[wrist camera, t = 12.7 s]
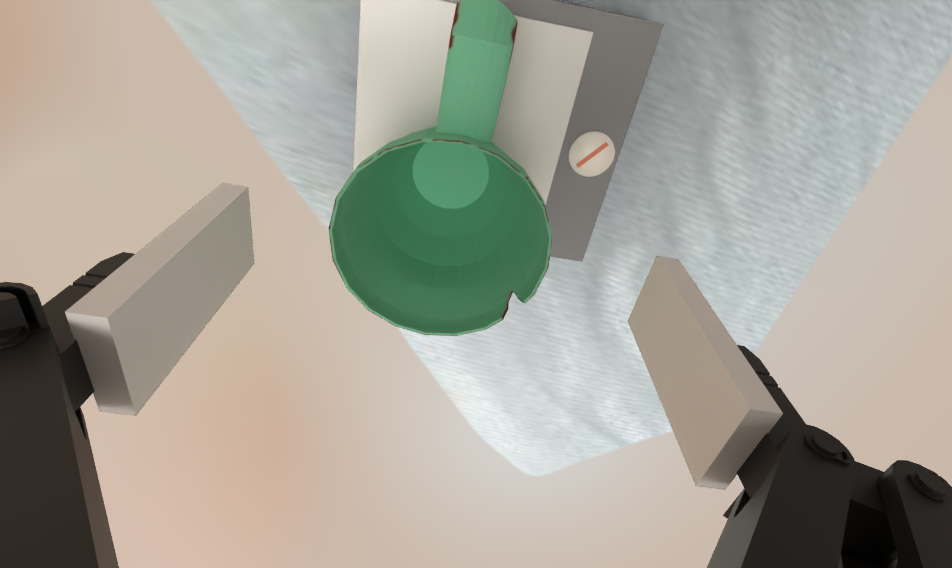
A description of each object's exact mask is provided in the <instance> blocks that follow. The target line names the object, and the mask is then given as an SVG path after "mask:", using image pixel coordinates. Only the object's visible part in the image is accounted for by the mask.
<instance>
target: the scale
mask: <svg viewBox="0 0 952 568" xmlns="http://www.w3.org/2000/svg"><path fill="white" fill-rule="evenodd" d="M460 1H462V0H361V8H360V30H359V52H358V75H357V97H356V119H355V141H354V163H353V172H354V170H355V169H356V167H357V166H358V165H359V164H360V163H361V162H362V161H363V160H365V159H366V158H368V157H369V156H370V155H372V154H373V153H375V152H376V151H377V150H379V149H380V148H382V147H383V146H385V145H386V144H387V143H389V142H391V141H394V140H397V139H400V138H402V137H404V136H406V135H408V134H410V133H413V132H417V131H420V130H424V129H427V128H431V127H434V126H437V119H438V112H439V106H440V99H441V93H442V86H443V79H444V73H445V66H446V60H447V53H448V47H449V41H450V34H451V29H452V24H453V19H454V14H455V9H456V4H457V3H458V2H460ZM499 1H500V2H501V3H502V4H504V5H505V6H506V7H507V8H508V9H509V10H510V11H511V12H512V14H513V15H514V16H515V17H516V19H517V22H518V24H517V30H516V36H515V42H514V47H513V52H512V56H511V61H510V65H509V70H508V74H507V79H506V83H505V88H504V92H503V96H502V101H501V105H500V109H499V113H498V117H497V121H496V126H495V130H494V134H493V138H492V143H494V144H495V145H496V146H497V147H498V148H500V149H501V150H502V151H503V152H505V153H506V154H507V155H508V156H509V157H510V158H511V159H513V160H514V161H515V162H516V163H517V164H519V165H520V166H521V167H522V168H524V169H525V171H526V173H527V174H528V176H529V177H530V179H531V181H532V182H533V184H534V185H535V187H536V189H537V190H538V192H539V193H540V195H541V197H542V198H543V200H544V202H545V206H546V210H547V215H548V220H549V224H550V229H551V233H552V245H551V252H550V256H551V257H557V258H564V259H570V260H576V261H582V260H583V257H584V254H585V251H586V249H587V246H588V243H589V240H590V237H591V234H592V231H593V228H594V225H595V222H596V220H597V217H598V214H599V211H600V208H601V205H602V202H603V199H604V196H605V193H606V191H607V188H608V185H609V182H610V179H611V176H612V173H613V170H614V167H615V164H616V162H617V159H618V156H619V153H620V150H621V147H622V144H623V141H624V138H625V135H626V133H627V130H628V127H629V124H630V121H631V118H632V115H633V112H634V109H635V106H636V104H637V101H638V98H639V95H640V92H641V89H642V86H643V83H644V80H645V77H646V74H647V72H648V69H649V66H650V63H651V60H652V57H653V54H654V51H655V48H656V45H657V43H658V40H659V37H660V34H661V31H662V28H663V25H664V24H660V23H656V22H653V21H649V20H645V19H640V18H635V17H631V16H626V15H621V14H617V13H612V12H607V11H602V10H598V9H593V8H588V7H584V6H579V5H574V4H570V3H565V2H560V1H555V0H499Z"/></svg>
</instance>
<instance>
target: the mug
mask: <svg viewBox="0 0 952 568" xmlns="http://www.w3.org/2000/svg"><path fill="white" fill-rule="evenodd" d="M517 24H518V22H517V19H516V17H515V16H514V15H513V14H512V12H511V11H510V10H509V9H508V8H507V7H506V6H505V5H504V4H502V3H501V2H500V1H499V0H462V1H460V2H458V3H457V4H456V9H455V14H454V19H453V24H452V29H451V34H450V41H449V47H448V53H447V60H446V66H445V73H444V79H443V86H442V93H441V99H440V106H439V112H438V119H437V126H434V127H431V128H427V129H424V130H420V131H417V132H413V133H410V134H408V135H406V136H404V137H402V138H400V139H397V140H394V141H391V142H389V143H387V144H386V145H385V146H383V147H382V148H380V149H379V150H377V151H376V152H375V153H373V154H372V155H370V156H369V157H368V158H366V159H365V160H363V161H362V162H361V163H360V164H359V165H358V166H357V167H356V169H355V170H354V172H353V173H352V175H351V176H350V178H349V179H348V180H347V182H346V183H345V185H344V186H343V188H342V189H341V191H340V192H339V194H338V195H337V197H336V200H335V204H334V208H333V213H332V217H331V221H330V226H329V236H330V243H331V250H332V258H333V262H334V264H335V266H336V268H337V270H338V272H339V273H340V275H341V278H342V280H343V282H344V284H345V286H346V288H347V289H348V290H349V291H350V292H351V293H352V294H353V295H354V296H355V297H356V298H357V299H358V300H359V301H360V302H361V303H362V304H363V305H364V306H365V307H366V308H367V309H368V310H369V311H370V312H372V313H374V314H375V315H378V316H379V317H380V318H382V319H384V320H386V321H388V322H389V323H391V324H392V325H394V326H396V327H400V328H403V329H407V330H410V331H414V332H417V333H421V334H424V335H446V336H458V335H462V334H467V333H471V332H476V331H481V330H485V329H487V328H489V327H491V326H493V325H495V324H496V323H498V322H500V321H502V320H503V318H504V316H505V314H506V312H507V310H508V302H509V300H510V297H511V295H512V293H513V292H514V293H515V294H516V296H517V297H518V299H519V300H520V301H522V302H523V303H526V302H527V301H528V300H529V299H530V298H531V297H532V296H533V295H534V294H535V292H536V290H537V288H538V287H539V285H540V283H541V281H542V279H543V277H544V275H545V273H546V271H547V270H548V266H549V259H550V252H551V245H552V233H551V229H550V224H549V220H548V215H547V210H546V206H545V202H544V200H543V198H542V197H541V195H540V193H539V192H538V190H537V189H536V187H535V185H534V184H533V182H532V181H531V179H530V177H529V176H528V174H527V173H526V171H525V169H524V168H522V167H521V166H520V165H519V164H517V163H516V162H515V161H514V160H513V159H511V158H510V157H509V156H508V155H507V154H506V153H505V152H503V151H502V150H501V149H500V148H498V147H497V146H496V145H495V144H494V143H492V138H493V134H494V130H495V126H496V121H497V117H498V113H499V109H500V105H501V101H502V96H503V92H504V88H505V83H506V79H507V74H508V70H509V65H510V61H511V56H512V52H513V47H514V42H515V36H516V30H517Z"/></svg>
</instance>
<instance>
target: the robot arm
mask: <svg viewBox="0 0 952 568" xmlns="http://www.w3.org/2000/svg"><path fill="white" fill-rule="evenodd" d="M253 264H254V253H253V240H252V228H251V216H250V203H249V191H248V187H245V186H239V185H233V184H228V183H221V184H220V185H219V186H218V187H216V188H215V189H214V190H213V191H212V192H210V193H209V194H208V195H207V196H205V197H204V198H203V199H202V200H201V201H199V202H198V203H197V204H196V205H195V206H193V207H192V208H191V209H190V210H188V211H187V212H186V213H185V214H184V215H182V216H181V217H180V218H179V219H177V220H176V221H175V222H174V223H173V224H171V225H170V226H169V227H168V228H166V229H165V230H164V231H163V232H162V233H160V234H159V235H158V236H157V237H156V238H154V239H153V240H152V241H151V242H150V243H148V244H147V245H146V246H144V247H143V248H142V249H141V250H140V251H138V252H137V253H136V254H132V253H125V252H122V253H120V254H118V255H115V256H113V257H110V258H108V259H105V260H103V261H101V262H100V263H98V264H97V265H96V266H94V267H93V268H92V269H90V270H89V271H88V272H86V275H85V276H83V275H82V276H81V277H80V278H79V279H77V280H76V281H75V282H73V285H69V286H68V287H67V288H65V289H64V290H63V291H62V292H60V293H59V294H58V295H57V296H55V297H54V298H52V299H51V300H50V301H49V302H47V303H46V304H45V305H43V306H42V305H41V302H40V300H39V297H38V294H37V293H36V291H35V290H34V289H33V287H30V286H28V285H25V284H22V283H11V282H4V283H0V568H119V566H118V562H117V558H116V553H115V549H114V545H113V541H112V536H111V532H110V528H109V523H108V519H107V514H106V510H105V506H104V501H103V498H102V493H101V488H100V484H99V480H98V476H97V471H96V467H95V462H94V458H93V454H92V449H91V446H90V441H89V437H88V432H87V428H86V423H85V419H84V415H83V413H82V410H81V408H80V406H81V405H82V404H83V403H84V402H85V401H86V400H87V399H88V398H89V396H90V395H91V394H92V393H93V394H94V397H95V400H96V402H97V405H98V408H99V411H101V412H109V413H117V414H125V415H133V416H136V415H137V414H138V413H139V411H140V410H141V409H142V407H143V406H144V405H145V404H146V402H147V401H148V400H149V398H150V397H151V396H152V395H153V393H154V392H155V391H156V389H157V388H158V387H159V386H160V384H161V383H162V382H163V381H164V379H165V378H166V377H167V375H168V374H169V373H170V371H171V370H172V369H173V368H174V366H175V365H176V364H177V362H178V361H179V360H180V358H181V357H182V356H183V355H184V353H185V352H186V351H187V350H188V348H189V347H190V345H191V344H192V343H193V342H194V341H195V339H196V338H197V337H198V335H199V334H200V333H201V331H202V330H203V329H204V328H205V326H206V325H207V324H208V322H209V321H210V320H211V319H212V317H213V316H214V315H215V313H216V312H217V311H218V310H219V308H220V307H221V306H222V304H223V303H224V302H225V301H226V299H227V298H228V297H229V295H230V294H231V293H232V292H233V290H234V289H235V288H236V286H237V285H238V284H239V283H240V281H241V280H242V279H243V277H244V276H245V275H246V274H247V272H248V271H249V269H250V268H251V267H252V266H253ZM628 323H629V325H630V328H631V330H632V333H633V335H634V338H635V340H636V342H637V345H638V347H639V350H640V352H641V354H642V357H643V359H644V362H645V364H646V367H647V369H648V371H649V374H650V376H651V379H652V381H653V383H654V386H655V388H656V391H657V393H658V396H659V398H660V400H661V403H662V405H663V408H664V410H665V412H666V415H667V417H668V420H669V422H670V425H671V427H672V429H673V432H674V434H675V437H676V439H677V441H678V444H679V446H680V449H681V451H682V454H683V456H684V458H685V461H686V463H687V466H688V468H689V470H690V473H691V475H692V478H693V480H694V482H695V485H696V486H700V487H708V488H716V489H726V488H727V487H728V486H729V484H730V483H731V482H732V480H733V479H734V478H735V476H736V475H737V474H738V476H739V478H740V480H741V482H742V484H743V486H744V490H743V491H742V492H741V493H740V495H739V496H738V497H737V498H736V500H735V501H734V502H733V504H732V505H731V506H730V507H729V508H728V510H727V511H726V512H725V514H724V515H723V516H725V517H726V518H728V520H727V523H726V525H725V527H724V529H723V532H722V534H721V536H720V539H719V541H718V543H717V546H716V548H715V550H714V553H713V555H712V557H711V560H710V562H709V564H708V566H707V568H952V487H951V486H950V485H949V484H948V483H947V481H945V480H944V479H943V478H942V477H941V476H938V474H936V473H935V472H933V471H931V470H929V469H927V468H925V467H923V466H921V465H919V464H916V463H913V462H910V461H904V460H898V461H896V462H895V463H893V464H892V465H891V466H890V467H889V468H888V469H887V470H886V471H885V472H882V471H880V470H877V469H875V468H872V467H869V466H866V465H864V464H861V463H858V462H856V461H854V458H853V456H852V455H851V453H850V452H849V450H848V449H847V448H846V447H845V446H844V445H843V444H842V443H841V442H840V441H839V440H838V439H836V438H835V437H833V436H832V435H830V434H829V433H827V432H825V431H823V430H821V429H819V428H817V427H814V426H810V425H806V424H805V422H804V421H803V419H802V418H801V417H800V415H799V414H798V412H797V411H796V410H795V408H794V407H793V405H792V404H791V403H790V401H789V400H788V398H787V397H786V395H785V394H784V393H783V391H782V390H781V388H778V384H777V383H776V381H775V380H774V379H773V377H772V376H770V373H769V372H768V370H767V369H766V368H765V366H764V365H763V363H762V362H761V360H760V359H759V358H757V357H756V356H755V355H754V354H753V353H752V352H751V351H749V350H748V349H747V348H746V347H745V346H740V345H736V343H735V342H734V340H733V339H732V337H731V336H730V334H729V333H728V331H727V330H726V328H725V327H724V325H723V324H722V322H721V321H720V320H719V318H718V317H717V315H716V314H715V312H714V311H713V309H712V308H711V306H710V305H709V303H708V302H707V300H706V299H705V297H704V296H703V294H702V293H701V291H700V290H699V289H698V287H697V286H696V284H695V283H694V281H693V280H692V278H691V277H690V275H689V274H688V272H687V271H686V269H685V268H684V266H683V265H682V263H681V262H680V261H679V259H673V258H668V257H662V256H656V258H655V261H654V263H653V265H652V267H651V270H650V272H649V274H648V277H647V279H646V281H645V283H644V286H643V288H642V290H641V292H640V295H639V297H638V299H637V301H636V304H635V306H634V308H633V310H632V313H631V315H630V317H629V320H628Z"/></svg>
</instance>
